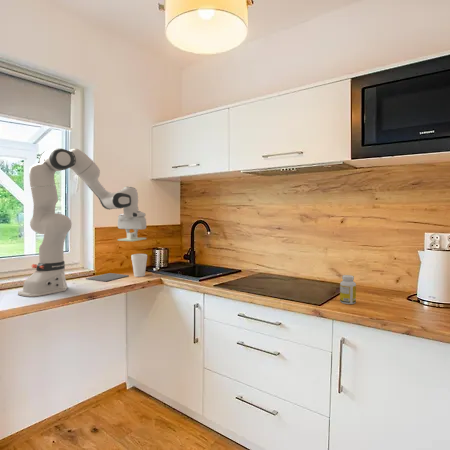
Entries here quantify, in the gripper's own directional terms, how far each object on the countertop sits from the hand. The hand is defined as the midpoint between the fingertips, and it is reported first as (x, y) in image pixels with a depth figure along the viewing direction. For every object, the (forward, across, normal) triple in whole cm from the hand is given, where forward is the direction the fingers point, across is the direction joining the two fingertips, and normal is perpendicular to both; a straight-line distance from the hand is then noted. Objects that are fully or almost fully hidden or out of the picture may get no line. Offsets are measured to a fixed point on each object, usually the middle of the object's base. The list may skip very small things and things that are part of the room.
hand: (132, 236), depth 205 cm
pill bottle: (+25, +125, -3) cm, 127 cm away
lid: (+2, 0, 0) cm, 2 cm away
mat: (+24, -10, -11) cm, 28 cm away
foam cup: (+25, +3, +2) cm, 25 cm away
